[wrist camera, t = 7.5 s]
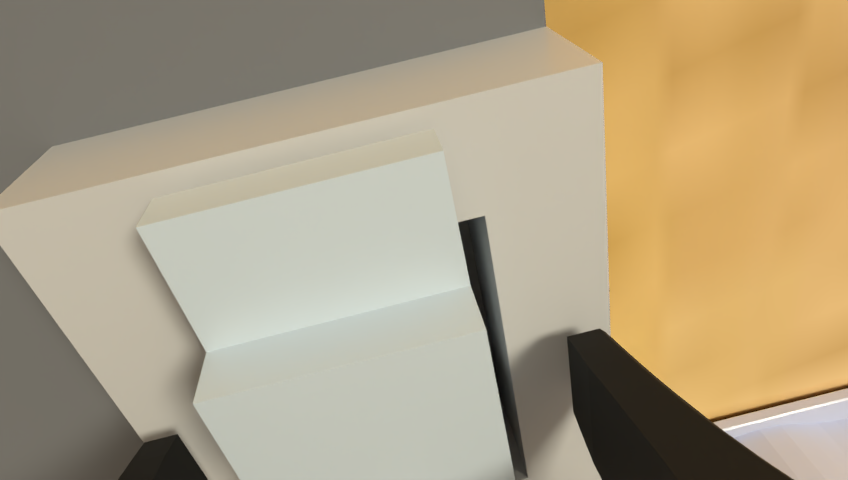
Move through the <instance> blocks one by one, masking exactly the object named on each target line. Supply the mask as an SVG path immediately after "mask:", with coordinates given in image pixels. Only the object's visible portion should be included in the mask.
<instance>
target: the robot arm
mask: <svg viewBox="0 0 848 480" xmlns="http://www.w3.org/2000/svg"><path fill="white" fill-rule="evenodd" d="M567 344H568V356H569V368H570V380H571V391H572V403H573V413H574V415H575V418H576V420H577V423H578V425H579V428H580V431H581V433H582V436H583V438H584V441H585V443H586V446H587V448H588V451H589V453H590V456H591V458H592V461H593V463H594V465H595V467H596V469H597V471H598V473H599V475H600V477H601V479H602V480H848V388H846V389H842V390H838V391H834V392H830V393H826V394H822V395H818V396H814V397H810V398H807V399H803V400H799V401H795V402H791V403H787V404H783V405H779V406H775V407H771V408H767V409H763V410H759V411H755V412H751V413H747V414H743V415H739V416H735V417H731V418H727V419H724V420H720V421H716V422H711V421H710V420H709V419H707V418H706V417H705V416H704V415H702V414H701V413H700V412H699V411H697V410H696V409H695V408H693V407H692V406H691V405H690V404H688V403H687V402H686V401H685V400H683V399H682V398H681V397H680V396H678V395H677V394H676V393H675V392H673V391H672V390H671V389H670V388H668V387H667V386H666V385H665V384H664V383H662V382H661V381H660V380H659V379H658V378H656V377H655V376H654V375H653V374H652V373H651V372H649V371H648V370H647V369H646V368H645V367H644V366H643V365H641V364H640V363H639V362H638V361H637V360H636V359H635V358H633V357H632V356H631V355H630V354H629V353H628V352H627V351H626V350H625V349H623V348H622V347H621V346H620V345H619V344H618V343H617V342H616V341H615V340H614V339H613V338H611V337H610V336H609V335H608V334H607V333H606V332H605V331H603V330H601V329H600V328H599V329H595V330H591V331H587V332H583V333H579V334H575V335H571V336H567ZM118 480H208V479H207V477H206V476H205V474H204V473H203V471H202V470H201V468H200V467H199V465H198V464H197V462H196V461H195V459H194V458H193V456H192V455H191V453H190V452H189V450H188V449H187V447H186V446H185V444H184V443H183V441H182V440H181V438H180V437H179V435H178V434H176V435H172V436H168V437H164V438H160V439H156V440H152V441H148V442H144V444H143V445H142V446H141V448H140V449H139V451H138V452H137V453H136V455H135V456H134V457H133V459H132V460H131V462H130V463H129V464H128V466H127V467H126V469H125V470H124V472H123V473H122V474H121V476H120V477H119V479H118Z"/></svg>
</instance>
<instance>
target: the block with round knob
mask: <svg viewBox="0 0 848 480" xmlns="http://www.w3.org/2000/svg"><path fill="white" fill-rule="evenodd" d="M136 229H137V231H138V233H139V234H140V236H141V238H142V240H143V241H144V243H145V245H146V247H147V248H148V250H149V252H150V254H151V255H152V257H153V259H154V261H155V263H156V264H157V266H158V268H159V270H160V271H161V273H162V275H163V277H164V278H165V280H166V282H167V284H168V285H169V287H170V289H171V291H172V293H173V294H174V296H175V298H176V300H177V301H178V303H179V305H180V307H181V308H182V310H183V312H184V314H185V315H186V317H187V319H188V321H189V323H190V324H191V326H192V328H193V330H194V331H195V333H196V335H197V337H198V338H199V340H200V342H201V344H202V345H203V347H204V349H205V351H206V356H205V359H204V363H203V367H202V371H201V374H200V378H199V382H198V386H197V389H196V393H195V397H194V401H193V406H194V407H195V409H196V410H197V412H198V414H199V415H200V417H201V418H202V420H203V422H204V423H205V425H206V426H207V428H208V430H209V431H210V433H211V434H212V436H213V438H214V439H215V441H216V442H217V444H218V446H219V447H220V449H221V450H222V452H223V453H224V455H225V457H226V458H227V460H228V461H229V463H230V465H231V466H232V468H233V469H234V471H235V473H236V474H237V476H238V477H239V479H240V480H515V475H514V470H513V465H512V460H511V455H510V450H509V444H508V439H507V434H506V429H505V424H504V419H503V413H502V408H501V403H500V398H499V393H498V388H497V382H496V377H495V372H494V367H493V362H492V357H491V351H490V346H489V341H488V336H487V331H486V327H485V325H484V322H483V319H482V316H481V313H480V311H479V308H478V305H477V302H476V299H475V296H474V294H473V291H472V288H471V285H470V280H469V275H468V270H467V265H466V260H465V255H464V250H463V245H462V240H461V236H460V231H459V226H458V221H457V216H456V211H455V206H454V201H453V196H452V191H451V186H450V181H449V176H448V171H447V166H446V161H445V156H444V151H443V149H442V146H441V144H440V142H439V139H438V137H437V135H436V133H435V130H434V128H433V129H429V130H425V131H421V132H417V133H413V134H409V135H405V136H401V137H397V138H393V139H389V140H385V141H381V142H377V143H373V144H369V145H365V146H361V147H357V148H353V149H349V150H345V151H341V152H337V153H333V154H329V155H325V156H321V157H317V158H313V159H309V160H305V161H301V162H297V163H293V164H289V165H285V166H281V167H277V168H273V169H269V170H265V171H261V172H257V173H253V174H249V175H245V176H241V177H237V178H233V179H229V180H225V181H221V182H217V183H213V184H209V185H205V186H201V187H197V188H193V189H189V190H185V191H181V192H177V193H173V194H169V195H165V196H161V197H157V198H153V199H152V200H151V202H150V204H149V205H148V207H147V209H146V211H145V212H144V214H143V216H142V217H141V219H140V221H139V223H138V224H137V226H136Z"/></svg>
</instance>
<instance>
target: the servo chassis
mask: <svg viewBox="0 0 848 480" xmlns="http://www.w3.org/2000/svg"><path fill="white" fill-rule="evenodd" d="M433 128H434V130H435V133H436V135H437V137H438V139H439V142H440V144H441V146H442V149H443V151H444V156H445V161H446V166H447V171H448V176H449V181H450V186H451V191H452V196H453V201H454V206H455V211H456V216H457V221H458V226H459V231H460V236H461V240H462V245H463V250H464V255H465V260H466V265H467V270H468V275H469V280H470V285H471V288H472V291H473V294H474V296H475V299H476V302H477V305H478V308H479V311H480V313H481V316H482V319H483V322H484V325H485V327H486V331H487V336H488V341H489V346H490V351H491V357H492V362H493V367H494V372H495V377H496V382H497V388H498V393H499V398H500V403H501V408H502V413H503V419H504V424H505V429H506V434H507V439H508V444H509V450H510V455H511V460H512V465H513V470H514V475H515V480H602V479H601V477H600V475H599V473H598V471H597V469H596V467H595V465H594V463H593V461H592V458H591V456H590V453H589V451H588V448H587V446H586V443H585V441H584V438H583V436H582V433H581V431H580V428H579V425H578V423H577V420H576V418H575V415H574V413H573V403H572V391H571V380H570V368H569V356H568V344H567V336H571V335H575V334H579V333H583V332H587V331H591V330H595V329H599V328H600V329H601V330H603V331H605V332H606V333H607V334H608V335H609V336H610V303H609V268H608V234H607V200H606V166H605V131H604V97H603V63H602V62H601V61H600V60H598V59H597V58H595V57H593V56H592V55H590V54H589V53H587V52H586V51H584V50H582V49H581V48H579V47H578V46H576V45H574V44H573V43H571V42H570V41H568V40H567V39H565V38H563V37H562V36H560V35H559V34H557V33H556V32H554V31H552V30H551V29H549V28H548V27H546V20H545V7H544V0H0V480H118V479H119V477H120V476H121V474H122V473H123V472H124V470H125V469H126V467H127V466H128V464H129V463H130V462H131V460H132V459H133V457H134V456H135V455H136V453H137V452H138V451H139V449H140V448H141V446H142V445H143V444H144V442H148V441H152V440H156V439H160V438H164V437H168V436H172V435H176V434H178V435H179V437H180V438H181V440H182V441H183V443H184V444H185V446H186V447H187V449H188V450H189V452H190V453H191V455H192V456H193V458H194V459H195V461H196V462H197V464H198V465H199V467H200V468H201V470H202V471H203V473H204V474H205V476H206V477H207V479H208V480H240V479H239V477H238V476H237V474H236V473H235V471H234V469H233V468H232V466H231V465H230V463H229V461H228V460H227V458H226V457H225V455H224V453H223V452H222V450H221V449H220V447H219V446H218V444H217V442H216V441H215V439H214V438H213V436H212V434H211V433H210V431H209V430H208V428H207V426H206V425H205V423H204V422H203V420H202V418H201V417H200V415H199V414H198V412H197V410H196V409H195V407H194V406H193V401H194V397H195V393H196V389H197V386H198V382H199V378H200V374H201V371H202V367H203V363H204V359H205V356H206V351H205V349H204V347H203V345H202V344H201V342H200V340H199V338H198V337H197V335H196V333H195V331H194V330H193V328H192V326H191V324H190V323H189V321H188V319H187V317H186V315H185V314H184V312H183V310H182V308H181V307H180V305H179V303H178V301H177V300H176V298H175V296H174V294H173V293H172V291H171V289H170V287H169V285H168V284H167V282H166V280H165V278H164V277H163V275H162V273H161V271H160V270H159V268H158V266H157V264H156V263H155V261H154V259H153V257H152V255H151V254H150V252H149V250H148V248H147V247H146V245H145V243H144V241H143V240H142V238H141V236H140V234H139V233H138V231H137V229H136V226H137V224H138V223H139V221H140V219H141V217H142V216H143V214H144V212H145V211H146V209H147V207H148V205H149V204H150V202H151V200H152V199H153V198H157V197H161V196H165V195H169V194H173V193H177V192H181V191H185V190H189V189H193V188H197V187H201V186H205V185H209V184H213V183H217V182H221V181H225V180H229V179H233V178H237V177H241V176H245V175H249V174H253V173H257V172H261V171H265V170H269V169H273V168H277V167H281V166H285V165H289V164H293V163H297V162H301V161H305V160H309V159H313V158H317V157H321V156H325V155H329V154H333V153H337V152H341V151H345V150H349V149H353V148H357V147H361V146H365V145H369V144H373V143H377V142H381V141H385V140H389V139H393V138H397V137H401V136H405V135H409V134H413V133H417V132H421V131H425V130H429V129H433Z"/></svg>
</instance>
